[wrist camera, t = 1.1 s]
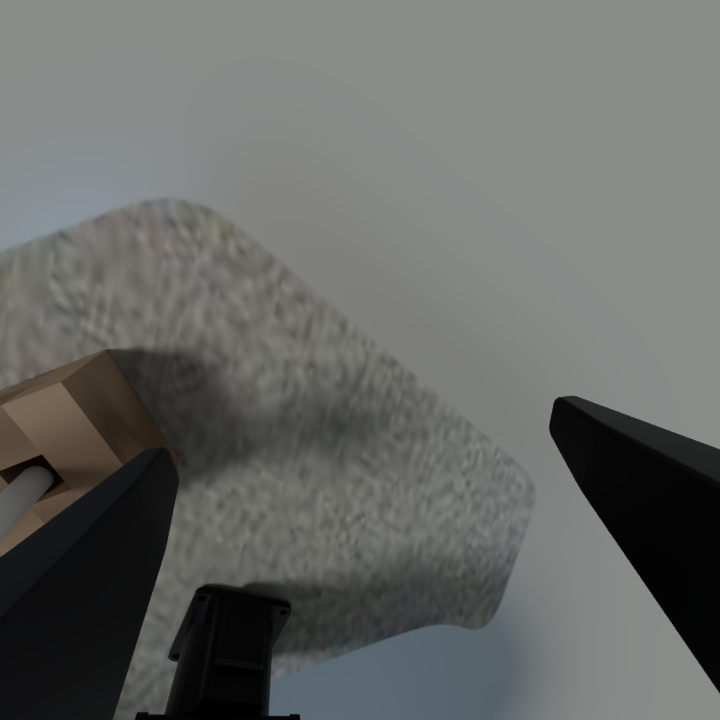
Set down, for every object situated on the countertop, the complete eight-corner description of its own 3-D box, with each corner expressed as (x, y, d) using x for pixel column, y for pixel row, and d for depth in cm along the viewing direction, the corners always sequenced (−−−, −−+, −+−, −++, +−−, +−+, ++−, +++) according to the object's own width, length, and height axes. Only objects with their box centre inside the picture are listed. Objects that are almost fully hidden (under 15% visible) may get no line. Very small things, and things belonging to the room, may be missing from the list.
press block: (179, 458, 22) (155, 508, 18) (61, 504, 22) (12, 565, 18) (106, 349, 19) (60, 382, 15) (-30, 402, 19) (-108, 448, 15)
